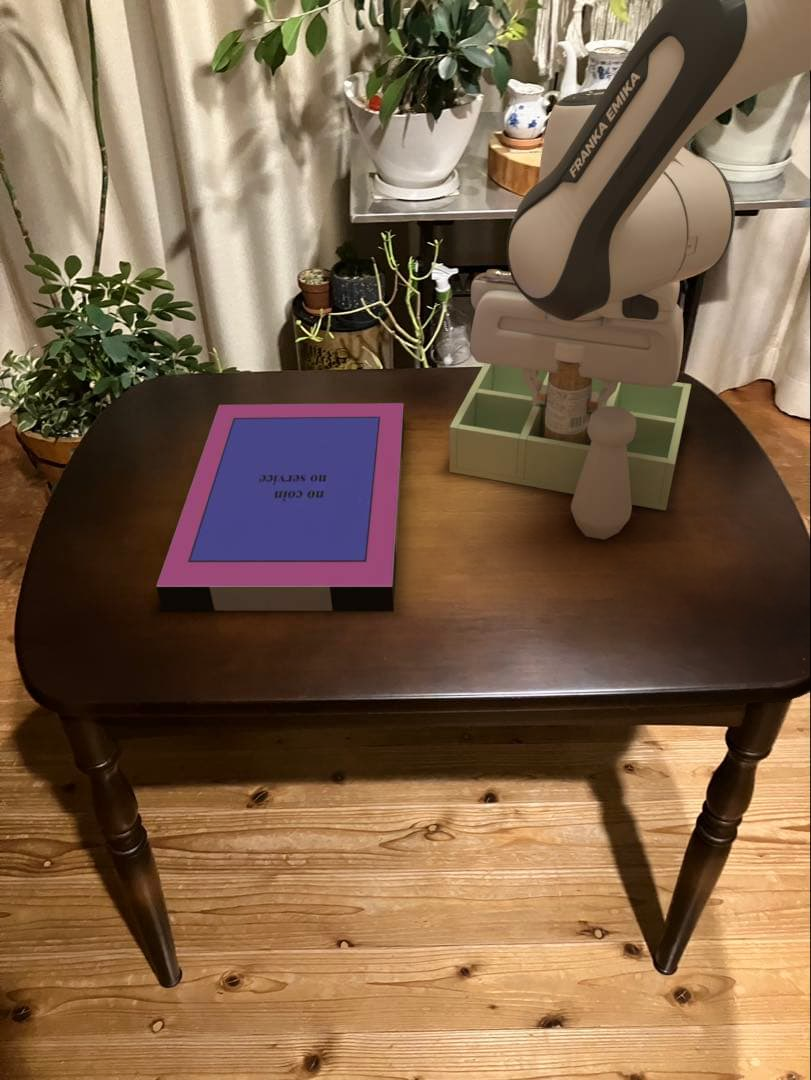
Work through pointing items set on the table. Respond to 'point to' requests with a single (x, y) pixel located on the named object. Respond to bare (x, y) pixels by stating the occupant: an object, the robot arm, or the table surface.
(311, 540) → the book
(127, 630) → the table surface
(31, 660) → the table surface
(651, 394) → the rack
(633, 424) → the salt shaker
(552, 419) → the sprinkles bottle
